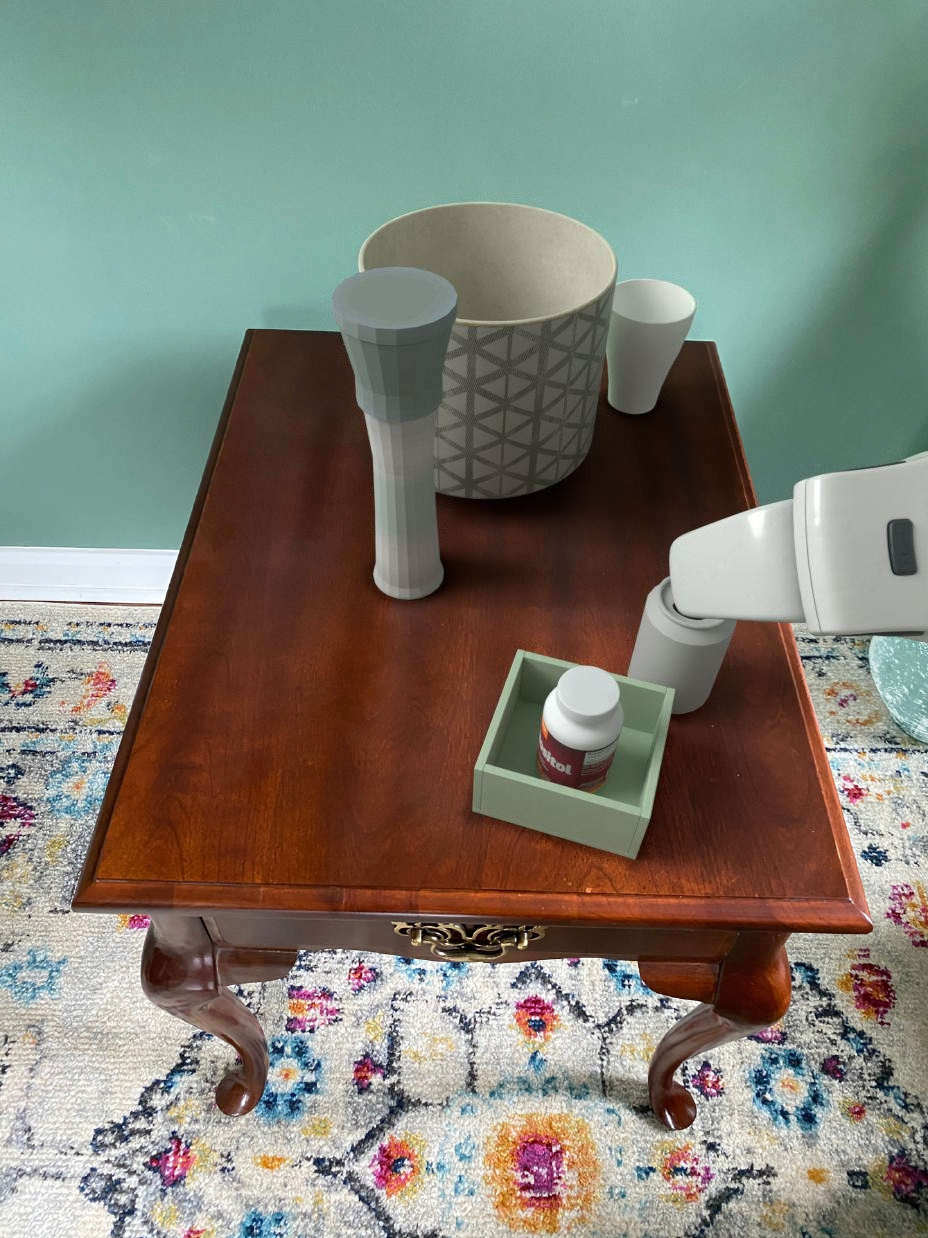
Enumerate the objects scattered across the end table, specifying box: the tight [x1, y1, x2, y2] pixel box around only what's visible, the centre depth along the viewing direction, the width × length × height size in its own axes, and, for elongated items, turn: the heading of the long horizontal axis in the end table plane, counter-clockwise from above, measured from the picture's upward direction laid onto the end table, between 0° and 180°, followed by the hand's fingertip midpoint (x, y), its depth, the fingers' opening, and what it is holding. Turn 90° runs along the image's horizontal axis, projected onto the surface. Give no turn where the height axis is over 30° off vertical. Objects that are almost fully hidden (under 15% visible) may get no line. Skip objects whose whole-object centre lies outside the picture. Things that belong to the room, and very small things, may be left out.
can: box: [626, 575, 738, 715], centre depth 74 cm, size 8×8×12 cm
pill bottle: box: [536, 665, 624, 794], centre depth 68 cm, size 6×6×11 cm
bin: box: [472, 648, 676, 860], centre depth 70 cm, size 13×12×7 cm
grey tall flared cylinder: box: [331, 267, 458, 601], centre depth 76 cm, size 10×10×30 cm
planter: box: [358, 201, 619, 500], centre depth 92 cm, size 25×25×24 cm
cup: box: [605, 278, 697, 415], centre depth 103 cm, size 10×10×14 cm
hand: (769, 575), depth 49 cm, fingers open, 8 cm apart
